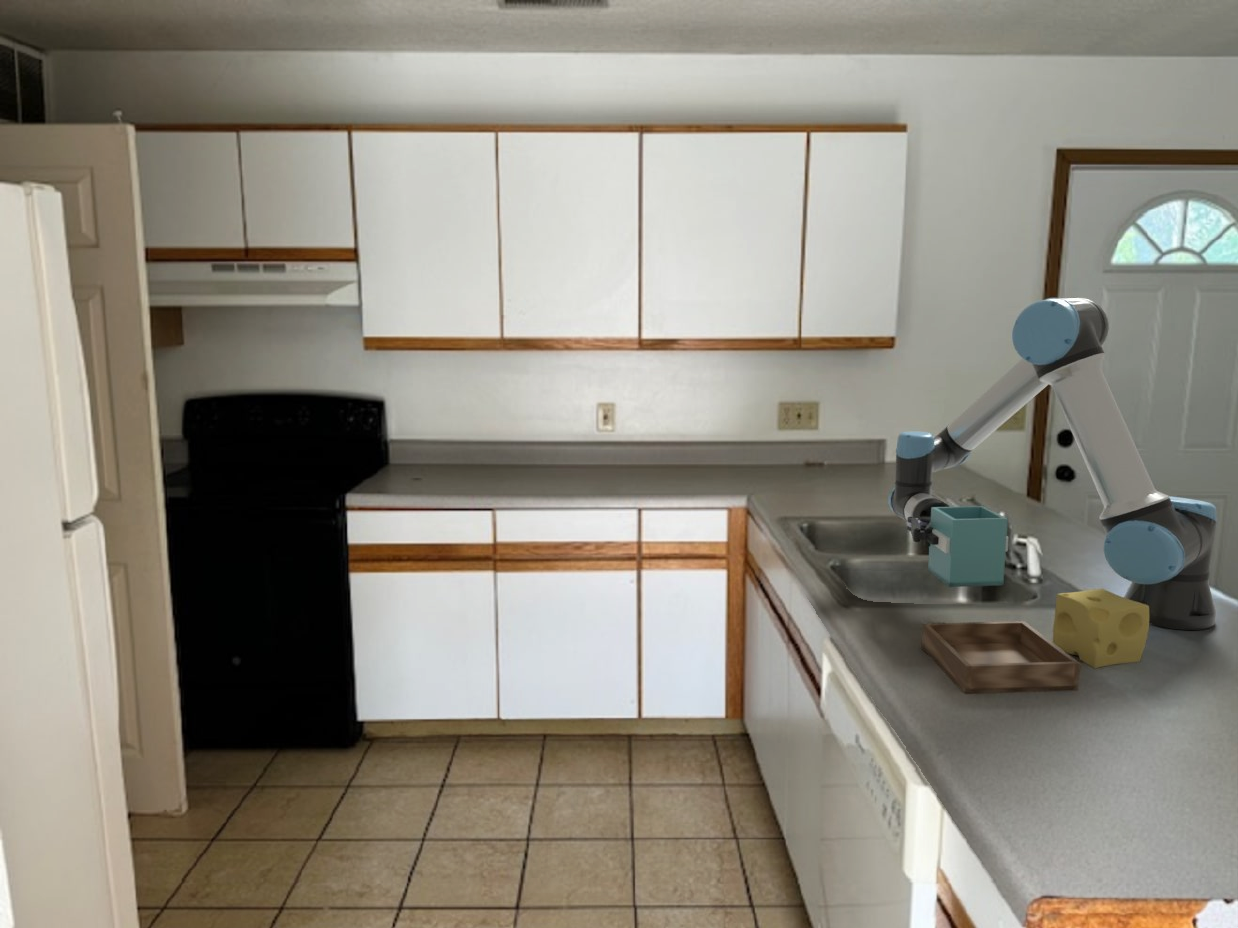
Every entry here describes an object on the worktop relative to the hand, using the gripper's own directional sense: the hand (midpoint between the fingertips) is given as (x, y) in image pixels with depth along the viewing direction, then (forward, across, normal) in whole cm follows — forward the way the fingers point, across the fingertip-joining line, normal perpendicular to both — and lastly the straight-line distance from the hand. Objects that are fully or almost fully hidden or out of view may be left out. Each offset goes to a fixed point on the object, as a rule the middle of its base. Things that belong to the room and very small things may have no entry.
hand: (977, 545), depth 162 cm
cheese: (+12, -16, -17) cm, 26 cm away
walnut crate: (+17, +4, -16) cm, 24 cm away
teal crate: (-4, 0, -8) cm, 9 cm away
